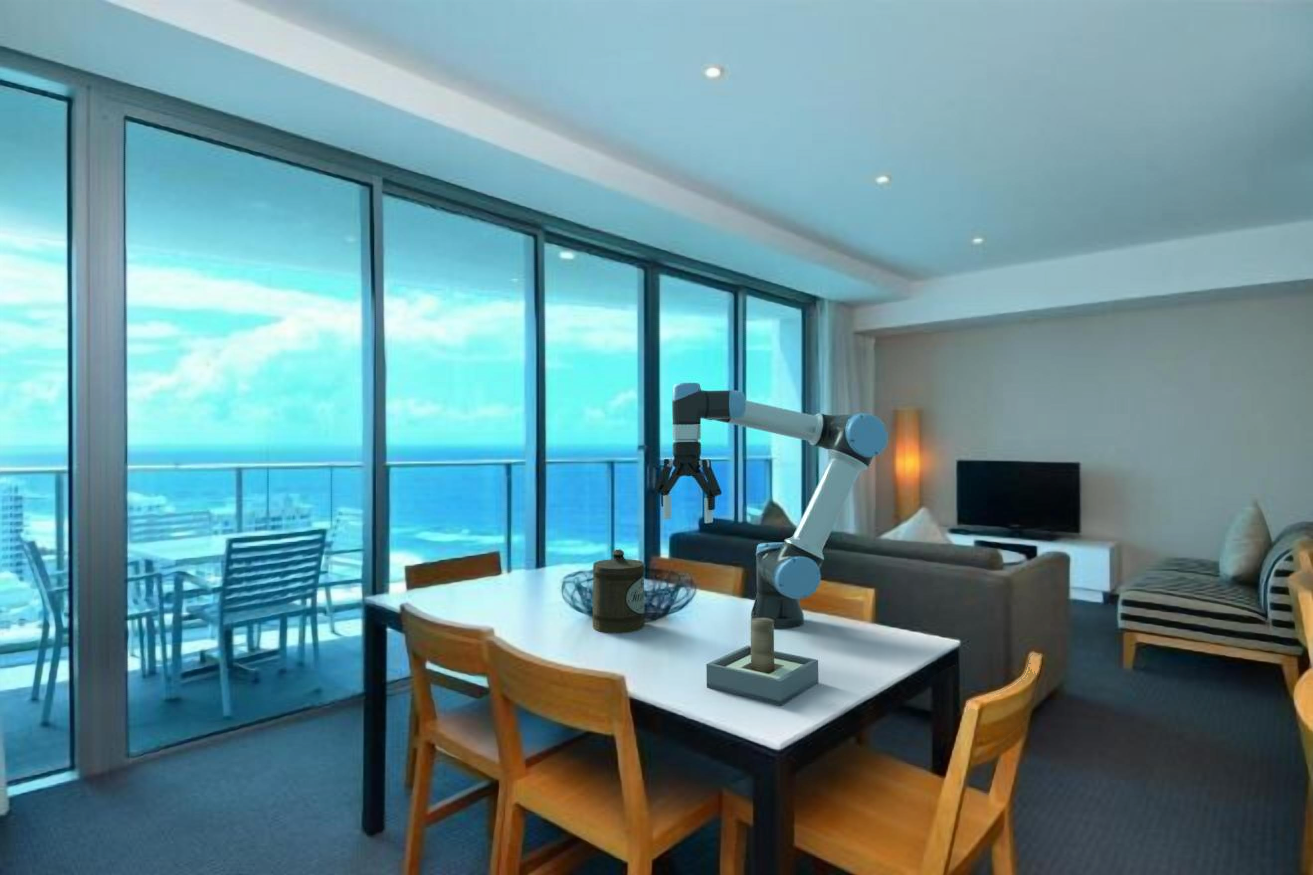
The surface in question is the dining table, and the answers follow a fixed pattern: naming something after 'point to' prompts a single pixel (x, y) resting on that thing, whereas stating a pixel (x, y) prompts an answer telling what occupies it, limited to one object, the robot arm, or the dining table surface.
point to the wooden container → (618, 594)
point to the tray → (763, 676)
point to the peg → (762, 645)
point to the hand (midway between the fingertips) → (687, 520)
